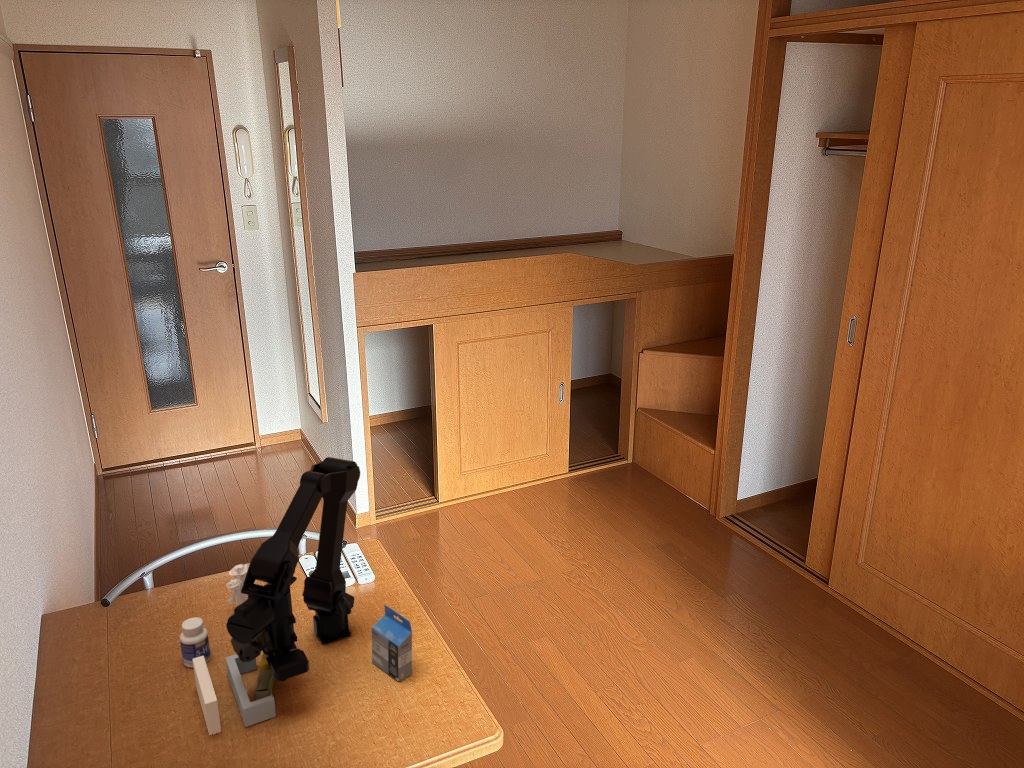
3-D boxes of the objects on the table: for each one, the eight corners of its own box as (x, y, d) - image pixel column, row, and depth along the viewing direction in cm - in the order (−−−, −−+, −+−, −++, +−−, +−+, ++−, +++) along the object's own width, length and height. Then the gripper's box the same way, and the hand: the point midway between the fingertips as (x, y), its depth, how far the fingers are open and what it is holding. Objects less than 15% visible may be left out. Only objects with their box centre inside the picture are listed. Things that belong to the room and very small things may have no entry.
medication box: (269, 708, 142) (268, 690, 141) (254, 709, 141) (253, 692, 140) (277, 666, 153) (276, 649, 152) (263, 667, 153) (262, 650, 152)
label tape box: (371, 662, 154) (368, 611, 151) (386, 653, 157) (384, 603, 153) (398, 683, 149) (396, 630, 145) (414, 673, 152) (412, 621, 148)
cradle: (255, 665, 153) (253, 648, 152) (275, 716, 139) (274, 698, 138) (227, 674, 150) (225, 657, 149) (245, 727, 137) (243, 709, 136)
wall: (207, 685, 147) (203, 655, 145) (221, 731, 136) (217, 700, 134) (196, 688, 146) (192, 658, 144) (209, 735, 135) (205, 704, 133)
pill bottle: (201, 670, 151) (196, 633, 149) (177, 666, 152) (172, 629, 150) (216, 653, 156) (211, 617, 154) (193, 649, 157) (188, 613, 155)
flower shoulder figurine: (241, 620, 167) (236, 573, 163) (225, 618, 168) (219, 571, 164) (259, 597, 176) (254, 551, 172) (243, 595, 176) (238, 550, 172)
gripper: (222, 599, 146) (230, 666, 151) (243, 653, 131) (252, 725, 136) (279, 583, 152) (286, 648, 157) (307, 633, 137) (312, 703, 141)
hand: (283, 679), depth 147 cm, fingers closed
